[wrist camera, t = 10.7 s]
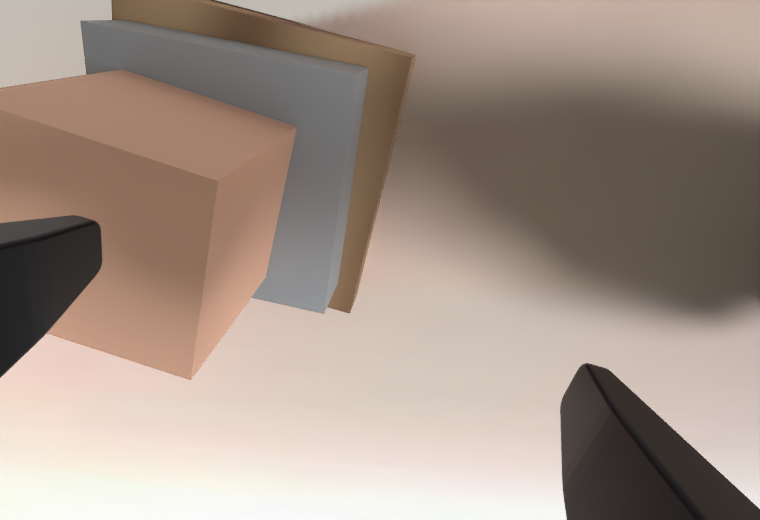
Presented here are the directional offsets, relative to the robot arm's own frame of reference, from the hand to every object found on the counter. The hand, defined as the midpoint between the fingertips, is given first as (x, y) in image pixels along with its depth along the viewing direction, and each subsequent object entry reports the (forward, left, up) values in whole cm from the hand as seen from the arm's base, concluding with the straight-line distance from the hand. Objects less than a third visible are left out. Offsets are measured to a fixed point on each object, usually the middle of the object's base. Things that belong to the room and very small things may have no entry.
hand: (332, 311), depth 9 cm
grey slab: (+6, +2, -11) cm, 13 cm away
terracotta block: (+7, +2, -8) cm, 11 cm away
